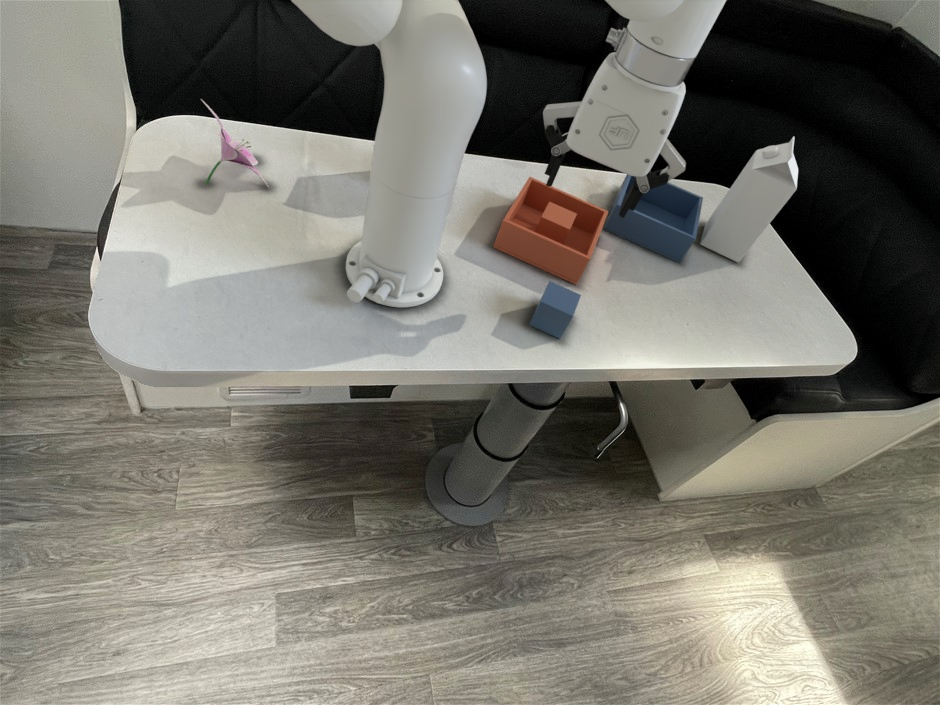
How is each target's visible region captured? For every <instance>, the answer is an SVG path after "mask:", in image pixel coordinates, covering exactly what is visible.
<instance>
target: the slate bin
mask: <svg viewBox="0 0 940 705" xmlns="http://www.w3.org/2000/svg"><path fill="white" fill-rule="evenodd" d="M635 179H636V177H635V176H631V175H628V174H626V176H625V177H624V180H623V181H622V183H621V185H620V187H619V189H618V192H617V193H616V196H615V199H614V202H613V204H612V207H611V209H610V212H609V215H608V216H607V219H606V221H605V225H604V228H603V229H604V230H605V231H608V232H609V233H611V234H613V235H616V236H618V237H620V238H622V239H624V240H627V241H629V242H632V243H634V244H636V245H638V246H640V247H643V248H645V249H647V250H649V251H652V252H655V253H657V254H659V255H660V256H662V257H666V258H667V259H670V260H673V261H675V262H677V263H679V264H680V263H681V262H682V260H683V259H684V257H685V256H686V254H687V253H688V251H689V250H690V248H691V247H692V245H693V244H694V243H695V241H696V239H697V234H698V228H699V223H700V218H701V210H702V207H703V201H704V197H703V196H701V195H699V194H696V193H694V192H691V191H689V190H686V189H684V188H683V187H680V186H678V185H675V184H673V183H671V182H670V181H668V183H667V184H665V185H662V186H659V187H656V188H652V189H649V191H648V192H646V193H643V195H642V197H641V199H640V200H639V202H638V204H637V206H636V207H635V209H634V211H631V210H628V212H627V213H626V215H625V217H624V218H622V217H620V215H619V212H620V208H621V204H622V202H623V200H624V198H625V196H626V195H627V193H628V191H629V189H630V187H631V185H632V184H633V182H634V180H635Z"/></svg>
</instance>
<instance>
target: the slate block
mask: <svg viewBox="0 0 940 705" xmlns="http://www.w3.org/2000/svg"><path fill="white" fill-rule="evenodd" d="M581 297H582V294H579V293H577V292H576V291H573V290H571V289H569V288H566V287H564V286H562V285H559V284H558V283H555V282H553V281H551V280H549V281H548V283H547V285H546V287H545V290H544V292H543V294H542V296H541V298H540V300H539V302H538V304H537V306H536V308H535V310H534V313H533V315H532V317H531V319H530V321H529V325H528V326H530V327H532V328H535V329H537V330H539V331H541V332H544V333H545V334H548V335H550V336H552V337H554V338H557V339H559V340H561V339H562V338H563V336H564V335H565V332H566V331H567V328H568V326H569V325H570V323H571V321H572V319H573V318H574V315H575V313H576V310H577V308H578V306H579V302H580V300H581Z"/></svg>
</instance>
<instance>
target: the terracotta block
mask: <svg viewBox="0 0 940 705" xmlns="http://www.w3.org/2000/svg"><path fill="white" fill-rule="evenodd" d="M576 215H577V214H576V213H574V212H572V211H570V210H567V209H565V208H563V207H561V206H558V205H556V204H554V203H552V202H549V203H548V205H547V207H546V209H545V211H544V213H543V214H542V216H541V219H540V221H539V223H538V226H537V228H536V231H535V232H536V233H538V234H540V235H543V236H545V237H547V238H549V239H551V240H554V241H556V242H558V243H560V244H563V243H564V241H565V239H566V237H567V235H568V233H569V231H570V228H571V226H572V224H573V222H574V220H575V217H576Z"/></svg>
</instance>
